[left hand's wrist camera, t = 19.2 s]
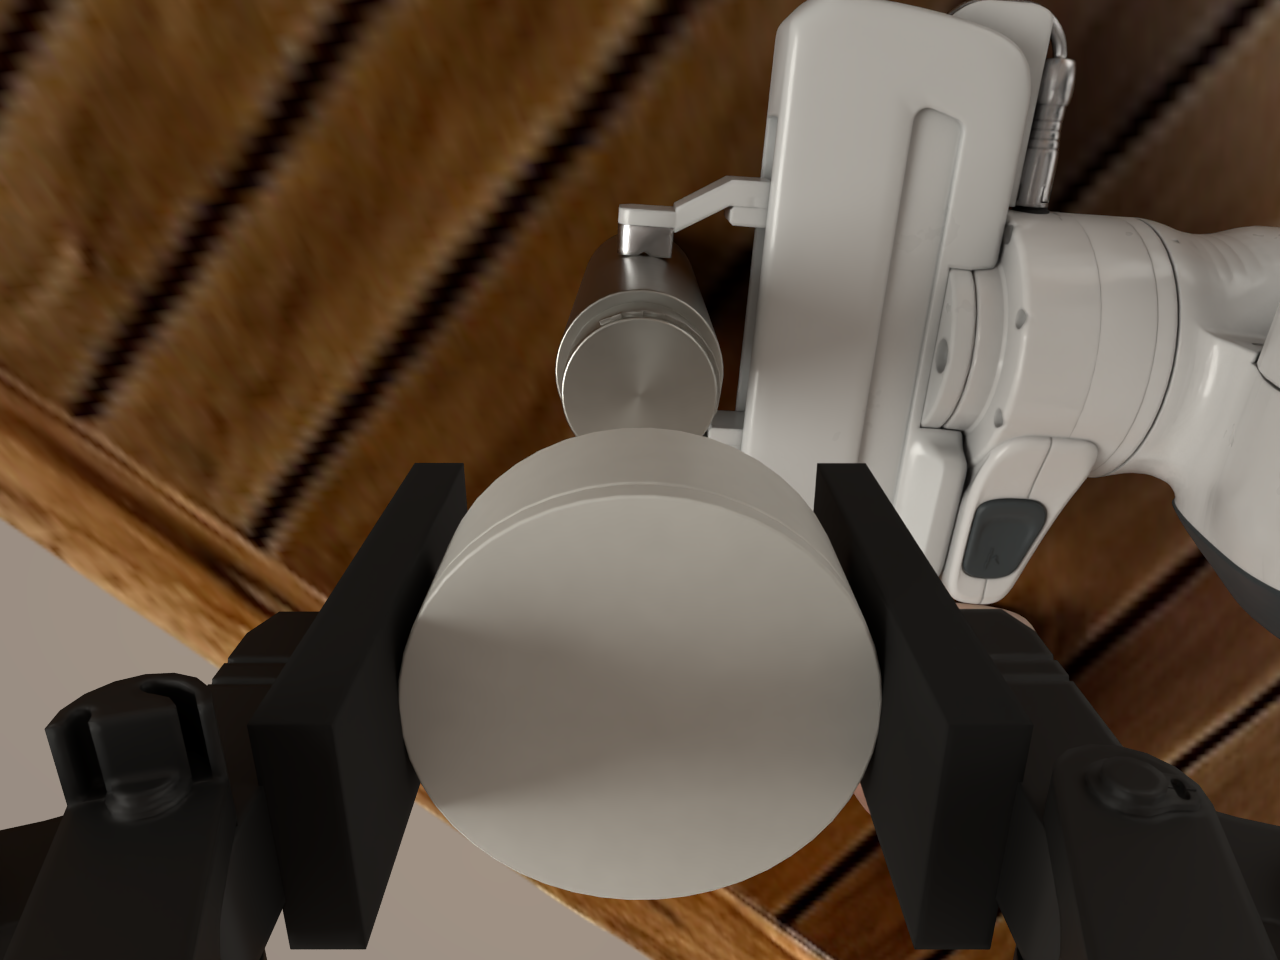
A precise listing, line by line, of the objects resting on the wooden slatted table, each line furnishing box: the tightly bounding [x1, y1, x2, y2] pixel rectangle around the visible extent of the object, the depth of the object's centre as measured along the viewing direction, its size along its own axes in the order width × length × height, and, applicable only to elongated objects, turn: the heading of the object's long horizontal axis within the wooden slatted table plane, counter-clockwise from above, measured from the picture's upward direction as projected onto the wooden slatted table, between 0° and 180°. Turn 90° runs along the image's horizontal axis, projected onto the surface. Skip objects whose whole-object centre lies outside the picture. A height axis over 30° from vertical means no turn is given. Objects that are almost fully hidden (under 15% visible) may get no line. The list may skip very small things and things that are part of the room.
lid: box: [398, 428, 882, 900], centre depth 11 cm, size 6×6×2 cm
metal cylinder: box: [555, 234, 723, 437], centre depth 30 cm, size 4×4×15 cm
